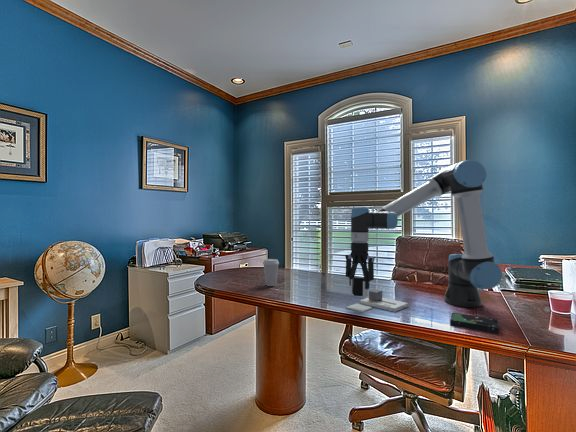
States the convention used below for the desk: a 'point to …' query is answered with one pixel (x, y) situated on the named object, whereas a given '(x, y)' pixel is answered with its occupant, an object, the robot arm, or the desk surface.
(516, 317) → the desk surface
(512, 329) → the desk surface
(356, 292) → the ink cartridge
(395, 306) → the switch panel
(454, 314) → the disk drive
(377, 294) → the switch tab
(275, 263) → the coffee cup
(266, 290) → the desk surface
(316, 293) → the desk surface
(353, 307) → the mat
